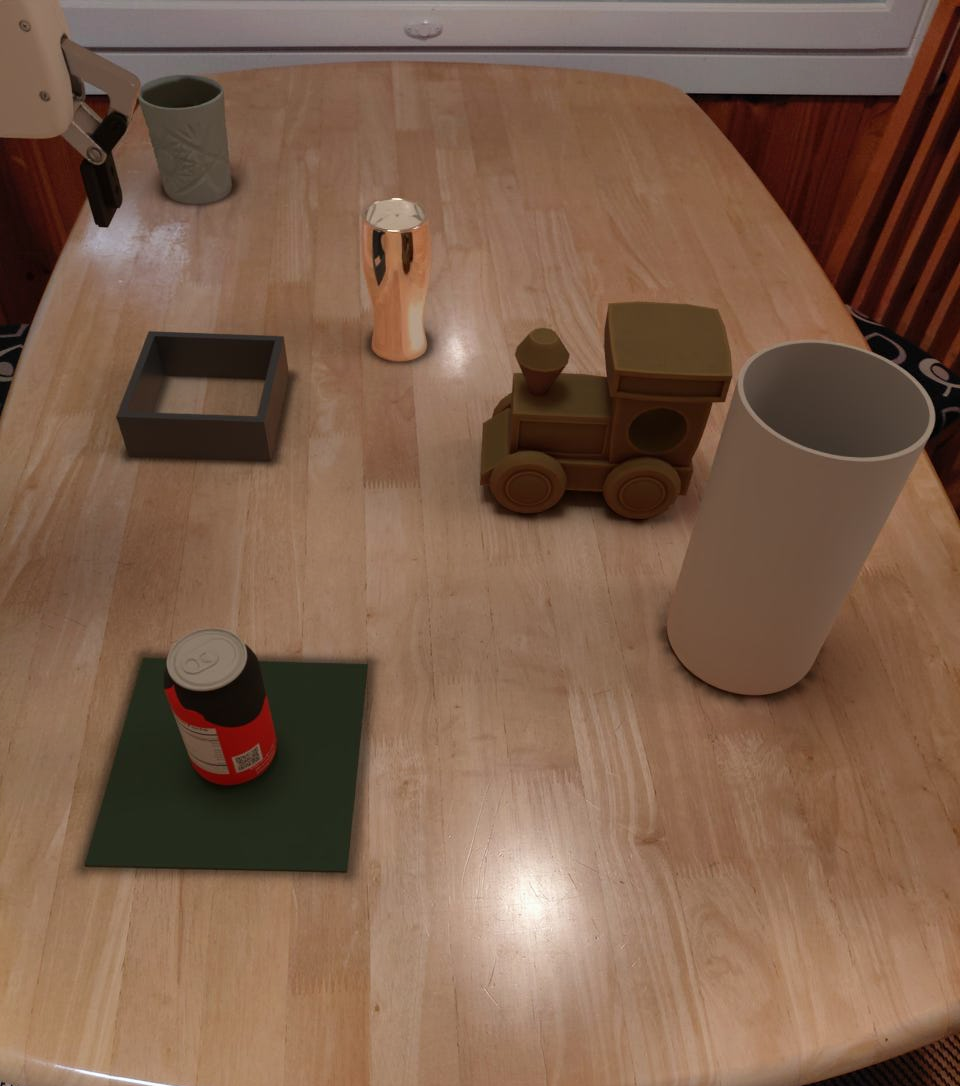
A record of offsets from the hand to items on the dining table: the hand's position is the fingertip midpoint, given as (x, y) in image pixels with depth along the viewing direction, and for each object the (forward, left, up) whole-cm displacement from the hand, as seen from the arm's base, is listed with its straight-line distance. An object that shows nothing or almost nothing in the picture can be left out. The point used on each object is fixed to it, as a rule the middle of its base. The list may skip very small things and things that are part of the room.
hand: (32, 213), depth 62 cm
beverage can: (+12, -22, -30) cm, 39 cm away
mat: (+12, -22, -30) cm, 39 cm away
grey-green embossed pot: (-7, +64, -31) cm, 71 cm away
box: (+3, +18, -30) cm, 35 cm away
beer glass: (+21, +31, -31) cm, 48 cm away
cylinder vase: (+52, -9, -31) cm, 61 cm away
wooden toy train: (+40, +10, -31) cm, 51 cm away
